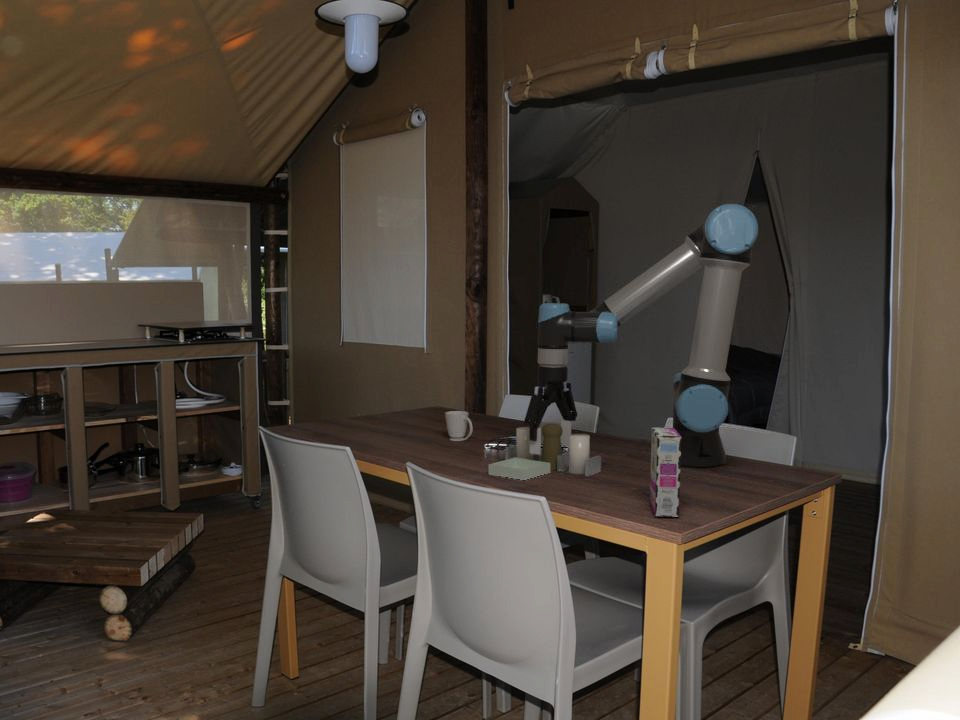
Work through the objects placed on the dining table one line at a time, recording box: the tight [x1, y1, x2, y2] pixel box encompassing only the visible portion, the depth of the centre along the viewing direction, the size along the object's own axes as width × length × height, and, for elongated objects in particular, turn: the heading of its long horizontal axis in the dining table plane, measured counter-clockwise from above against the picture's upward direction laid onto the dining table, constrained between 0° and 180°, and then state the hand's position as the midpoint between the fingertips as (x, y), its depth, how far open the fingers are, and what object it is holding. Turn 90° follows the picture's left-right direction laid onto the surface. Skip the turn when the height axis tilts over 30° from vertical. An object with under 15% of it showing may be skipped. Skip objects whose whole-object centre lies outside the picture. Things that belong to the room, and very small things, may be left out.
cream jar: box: [568, 433, 591, 475], centre depth 208 cm, size 5×5×9 cm
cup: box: [444, 410, 474, 442], centre depth 250 cm, size 7×10×8 cm
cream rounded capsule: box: [515, 426, 531, 460], centre depth 218 cm, size 5×5×9 cm
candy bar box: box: [649, 427, 682, 518], centre depth 172 cm, size 11×5×16 cm, turn 175°
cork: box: [541, 424, 563, 471], centre depth 213 cm, size 6×6×11 cm
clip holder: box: [504, 444, 602, 477], centre depth 213 cm, size 25×6×4 cm, turn 51°
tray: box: [488, 457, 551, 481], centre depth 206 cm, size 11×11×2 cm
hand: (550, 449), depth 213 cm, fingers open, 13 cm apart
